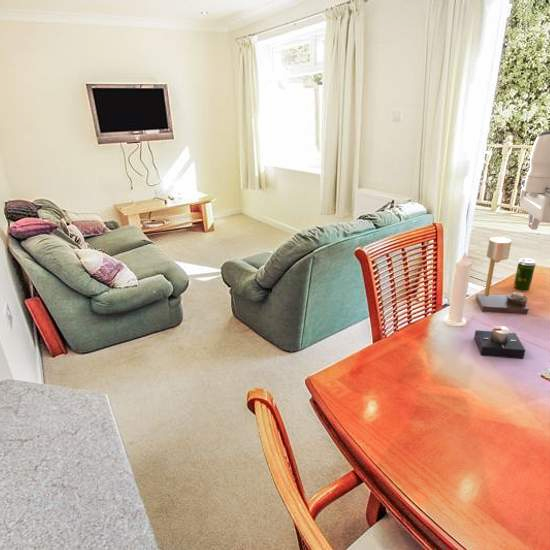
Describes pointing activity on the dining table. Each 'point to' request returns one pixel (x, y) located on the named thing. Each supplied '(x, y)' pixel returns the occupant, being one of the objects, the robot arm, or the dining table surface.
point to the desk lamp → (496, 256)
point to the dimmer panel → (499, 345)
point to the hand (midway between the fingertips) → (532, 228)
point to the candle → (459, 293)
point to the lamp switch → (517, 295)
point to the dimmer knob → (500, 334)
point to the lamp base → (502, 304)
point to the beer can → (524, 274)
